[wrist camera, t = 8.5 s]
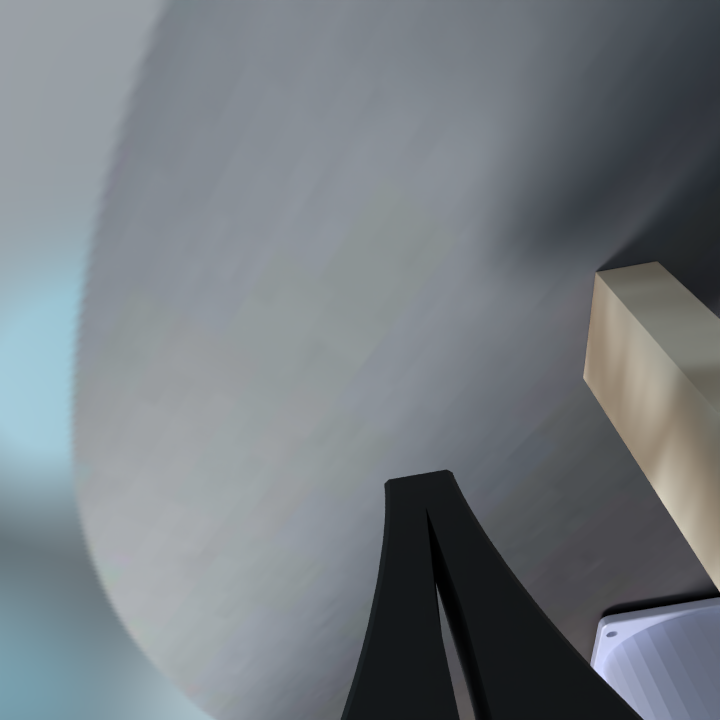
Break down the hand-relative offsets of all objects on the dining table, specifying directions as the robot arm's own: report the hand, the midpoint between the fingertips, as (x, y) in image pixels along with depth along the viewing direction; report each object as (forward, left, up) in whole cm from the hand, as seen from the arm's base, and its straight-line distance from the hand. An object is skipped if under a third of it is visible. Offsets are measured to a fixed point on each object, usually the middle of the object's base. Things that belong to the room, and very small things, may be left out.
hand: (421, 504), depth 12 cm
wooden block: (0, -6, -5) cm, 8 cm away
